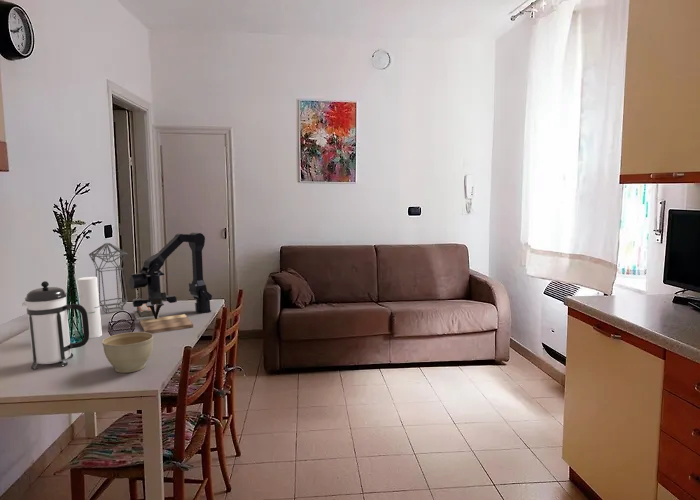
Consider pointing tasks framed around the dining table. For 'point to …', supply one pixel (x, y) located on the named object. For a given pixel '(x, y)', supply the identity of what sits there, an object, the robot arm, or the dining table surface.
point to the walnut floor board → (167, 325)
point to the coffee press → (51, 325)
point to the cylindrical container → (91, 304)
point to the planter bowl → (128, 350)
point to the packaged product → (143, 313)
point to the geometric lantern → (109, 270)
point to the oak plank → (163, 318)
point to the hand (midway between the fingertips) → (155, 318)
